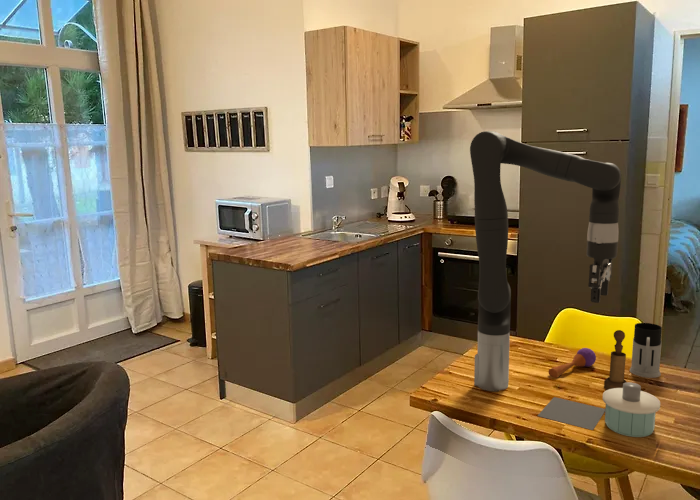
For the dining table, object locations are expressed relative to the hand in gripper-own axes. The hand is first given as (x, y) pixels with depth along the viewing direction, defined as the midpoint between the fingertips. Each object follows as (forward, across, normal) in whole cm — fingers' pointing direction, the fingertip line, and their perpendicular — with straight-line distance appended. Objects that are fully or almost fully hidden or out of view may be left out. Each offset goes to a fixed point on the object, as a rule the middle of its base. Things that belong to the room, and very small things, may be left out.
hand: (599, 298), depth 155 cm
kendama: (+31, -21, -12) cm, 39 cm away
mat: (+30, +10, -3) cm, 32 cm away
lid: (+23, +10, +11) cm, 27 cm away
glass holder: (+30, -29, +8) cm, 43 cm away
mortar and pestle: (+30, -13, +3) cm, 33 cm away
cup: (+30, +10, +11) cm, 34 cm away
